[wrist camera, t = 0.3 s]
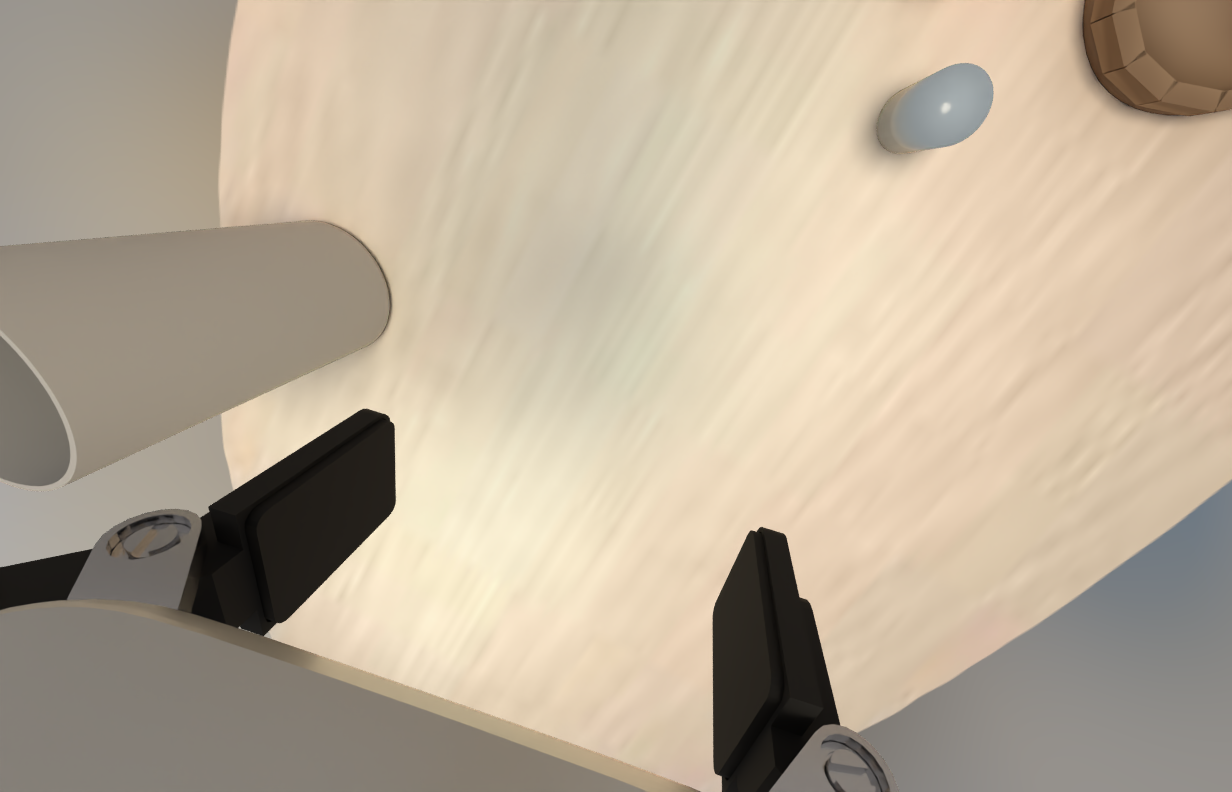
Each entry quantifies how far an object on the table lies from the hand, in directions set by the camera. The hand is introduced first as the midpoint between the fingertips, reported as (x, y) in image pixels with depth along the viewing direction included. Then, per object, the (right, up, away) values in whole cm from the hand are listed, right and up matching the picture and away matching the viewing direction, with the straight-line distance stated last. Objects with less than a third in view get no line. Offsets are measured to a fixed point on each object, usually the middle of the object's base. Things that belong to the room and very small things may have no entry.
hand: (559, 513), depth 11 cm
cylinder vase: (-26, +14, +33) cm, 45 cm away
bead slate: (+21, +22, +19) cm, 36 cm away
